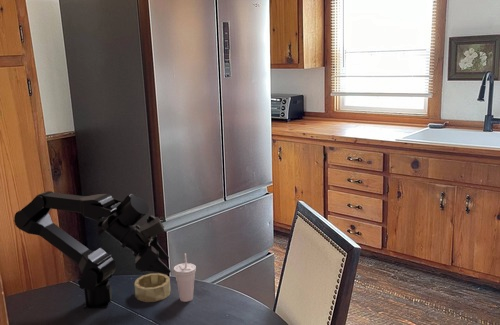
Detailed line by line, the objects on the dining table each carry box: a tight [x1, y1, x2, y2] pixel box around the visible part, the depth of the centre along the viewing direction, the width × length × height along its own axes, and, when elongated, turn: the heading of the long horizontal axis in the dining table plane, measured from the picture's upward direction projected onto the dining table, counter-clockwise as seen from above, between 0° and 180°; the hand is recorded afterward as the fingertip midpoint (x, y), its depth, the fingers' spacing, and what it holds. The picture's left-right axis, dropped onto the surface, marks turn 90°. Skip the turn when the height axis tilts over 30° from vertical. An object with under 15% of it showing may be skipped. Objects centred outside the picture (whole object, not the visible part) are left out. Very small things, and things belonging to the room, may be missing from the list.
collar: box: [134, 272, 171, 303], centre depth 139 cm, size 10×10×4 cm
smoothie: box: [173, 252, 197, 303], centre depth 134 cm, size 6×6×14 cm
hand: (168, 265), depth 132 cm, fingers open, 9 cm apart
